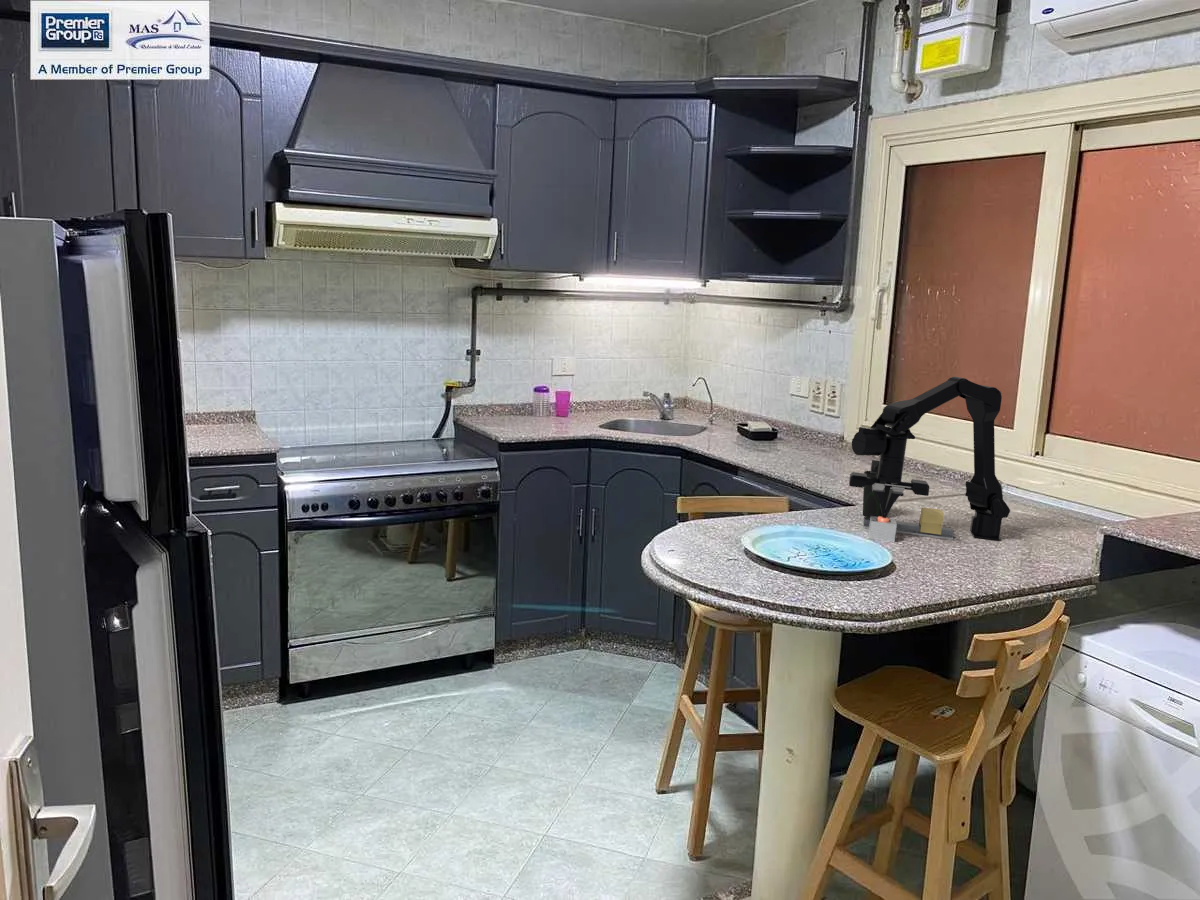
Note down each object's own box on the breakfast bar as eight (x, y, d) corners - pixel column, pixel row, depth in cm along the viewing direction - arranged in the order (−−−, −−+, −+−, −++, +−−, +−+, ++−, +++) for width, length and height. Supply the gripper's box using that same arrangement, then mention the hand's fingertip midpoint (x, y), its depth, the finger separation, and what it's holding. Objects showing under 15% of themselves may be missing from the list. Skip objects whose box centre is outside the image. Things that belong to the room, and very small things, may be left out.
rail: (950, 534, 243) (951, 527, 243) (952, 540, 237) (954, 532, 237) (862, 522, 248) (863, 515, 248) (863, 528, 242) (864, 520, 242)
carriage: (938, 529, 243) (941, 509, 242) (940, 534, 238) (943, 514, 237) (918, 527, 244) (921, 507, 243) (920, 531, 239) (923, 511, 238)
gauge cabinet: (892, 536, 236) (895, 519, 235) (894, 542, 230) (896, 524, 229) (868, 533, 237) (870, 515, 236) (869, 538, 232) (871, 521, 231)
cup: (881, 521, 252) (887, 477, 250) (854, 515, 256) (859, 472, 254) (891, 517, 258) (897, 474, 256) (865, 511, 262) (870, 469, 260)
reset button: (888, 524, 234) (889, 517, 234) (888, 527, 232) (890, 519, 231) (876, 523, 235) (877, 515, 234) (877, 525, 232) (878, 518, 232)
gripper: (928, 455, 236) (920, 515, 239) (852, 446, 240) (845, 505, 243) (933, 462, 225) (924, 525, 228) (853, 453, 229) (845, 515, 232)
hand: (883, 517), depth 233 cm, fingers closed, pressing on reset button
